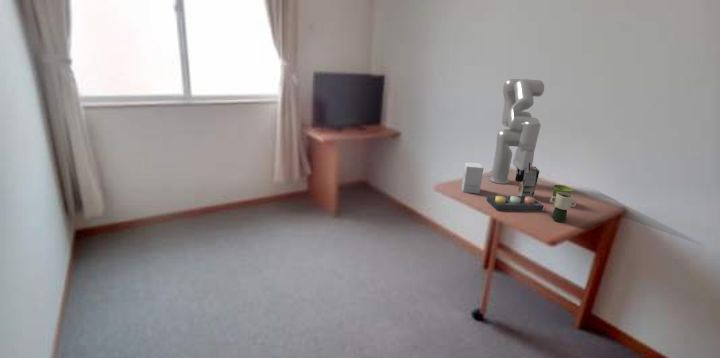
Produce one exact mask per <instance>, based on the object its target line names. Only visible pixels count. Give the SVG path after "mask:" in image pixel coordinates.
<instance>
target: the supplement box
mask: <svg viewBox="0 0 720 358" xmlns="http://www.w3.org/2000/svg"><path fill="white" fill-rule="evenodd" d="M483 173H484V166H483V165H482V163H477V162H470V161H469V162H467V161H466V162H465V163H464V169H463V176H462V182H461V190H462V192H463V193H471V194H478V195H480V191H481V185H482V179H483Z"/></svg>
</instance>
